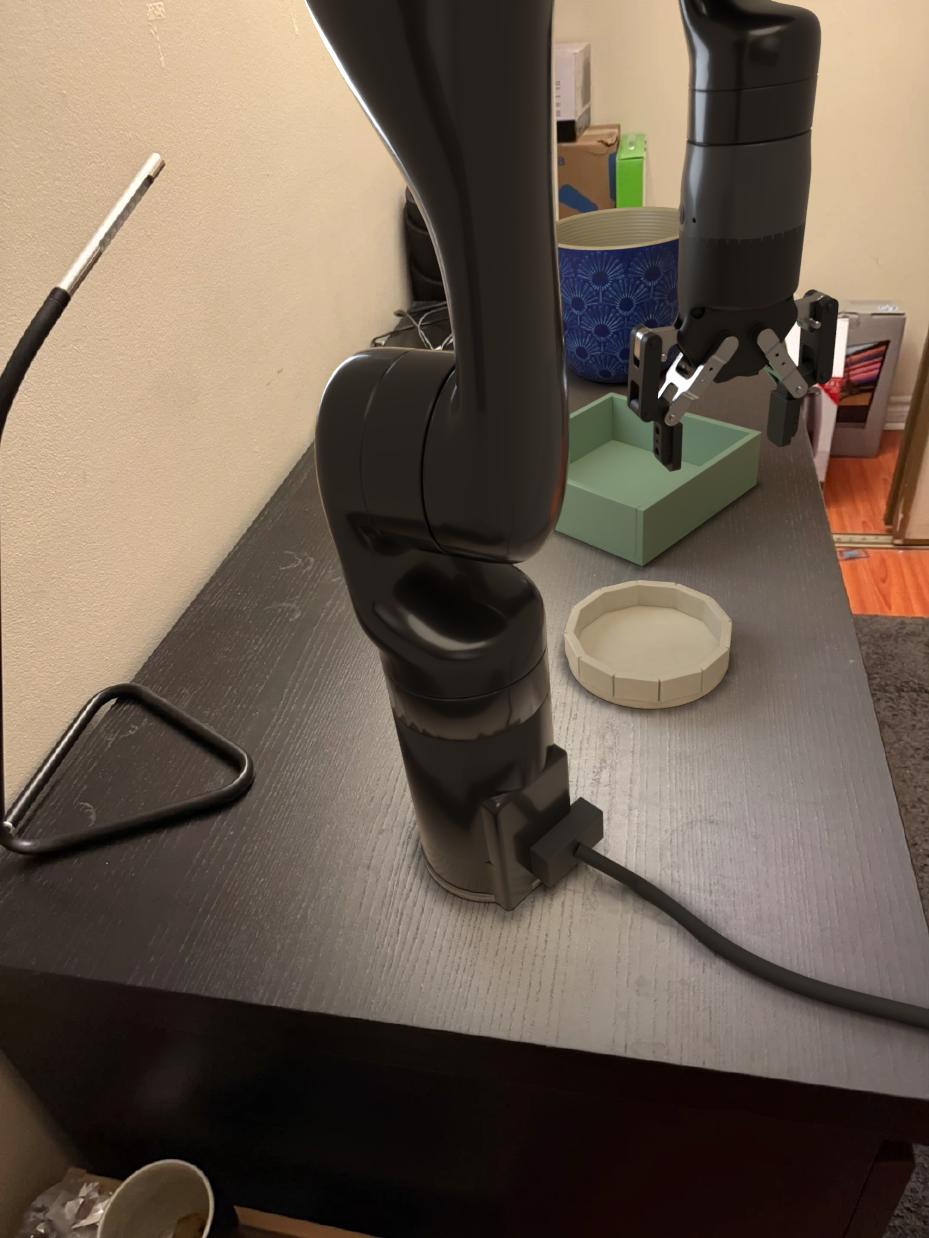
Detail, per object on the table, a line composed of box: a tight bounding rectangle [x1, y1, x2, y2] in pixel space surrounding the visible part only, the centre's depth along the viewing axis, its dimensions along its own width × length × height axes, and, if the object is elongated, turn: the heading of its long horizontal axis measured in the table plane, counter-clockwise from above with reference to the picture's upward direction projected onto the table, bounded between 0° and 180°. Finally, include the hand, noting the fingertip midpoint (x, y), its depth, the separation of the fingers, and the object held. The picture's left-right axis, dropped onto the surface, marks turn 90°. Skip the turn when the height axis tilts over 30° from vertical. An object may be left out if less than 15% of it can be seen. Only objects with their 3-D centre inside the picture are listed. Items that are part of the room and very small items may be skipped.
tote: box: [554, 391, 763, 567], centre depth 89 cm, size 20×20×6 cm
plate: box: [563, 579, 733, 710], centre depth 69 cm, size 13×13×3 cm
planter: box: [556, 206, 680, 384], centre depth 114 cm, size 21×21×19 cm
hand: (724, 454), depth 62 cm, fingers open, 8 cm apart
